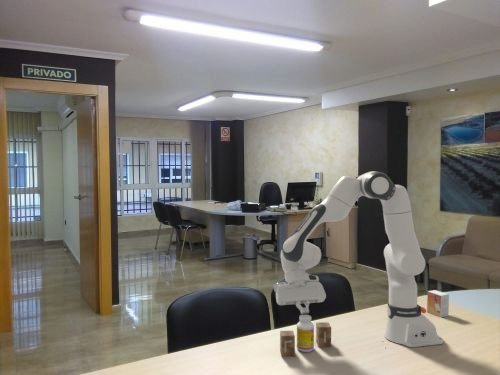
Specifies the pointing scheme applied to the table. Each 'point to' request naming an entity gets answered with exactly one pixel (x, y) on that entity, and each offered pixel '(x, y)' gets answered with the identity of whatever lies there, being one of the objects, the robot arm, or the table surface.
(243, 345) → the table surface
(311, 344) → the supplement bottle
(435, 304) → the small box
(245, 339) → the table surface
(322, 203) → the robot arm
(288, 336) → the walnut block seven
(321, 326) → the walnut block one
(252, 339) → the table surface
